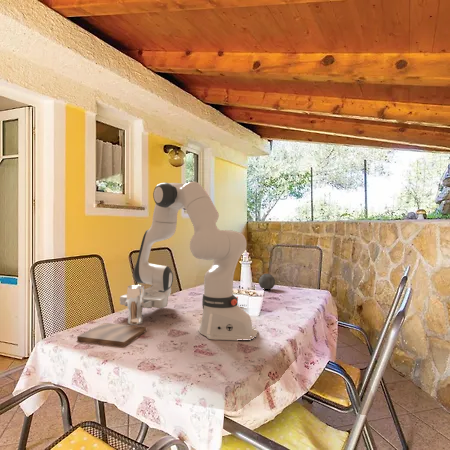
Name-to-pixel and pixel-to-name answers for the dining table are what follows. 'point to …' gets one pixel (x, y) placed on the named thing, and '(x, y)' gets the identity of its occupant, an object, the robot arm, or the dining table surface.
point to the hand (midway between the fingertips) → (134, 305)
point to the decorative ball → (266, 281)
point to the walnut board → (112, 334)
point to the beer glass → (135, 304)
